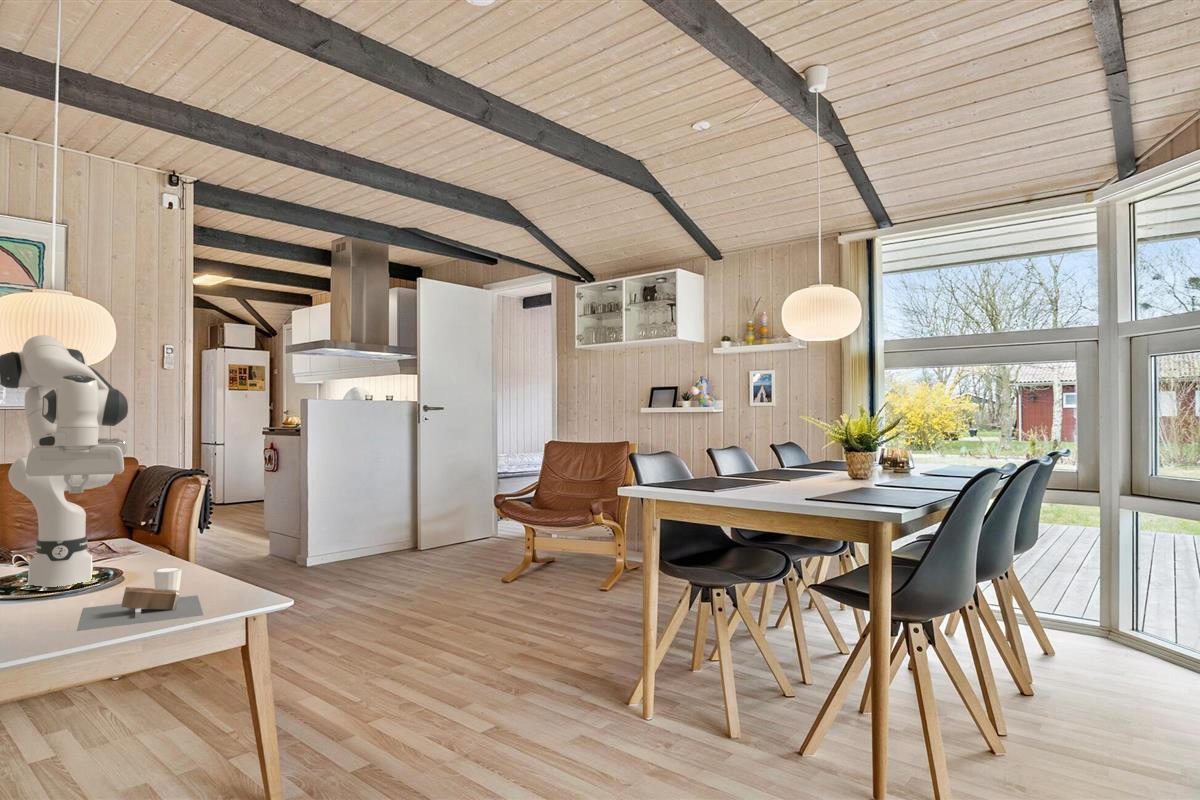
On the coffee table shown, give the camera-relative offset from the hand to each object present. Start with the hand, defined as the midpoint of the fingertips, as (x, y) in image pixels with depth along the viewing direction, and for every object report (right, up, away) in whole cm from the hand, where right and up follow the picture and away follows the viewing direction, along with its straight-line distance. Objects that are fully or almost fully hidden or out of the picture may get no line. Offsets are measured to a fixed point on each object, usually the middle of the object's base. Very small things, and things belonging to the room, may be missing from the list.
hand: (76, 492), depth 181 cm
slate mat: (+16, -31, +2) cm, 35 cm away
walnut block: (+12, -27, 0) cm, 29 cm away
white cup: (+10, -32, +21) cm, 40 cm away
